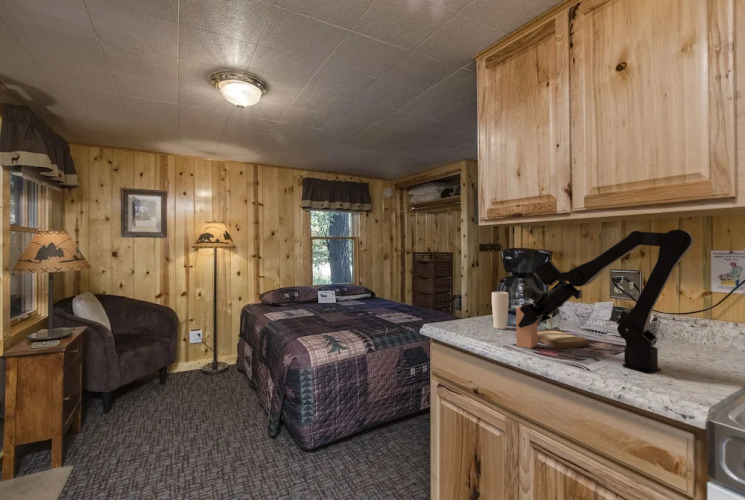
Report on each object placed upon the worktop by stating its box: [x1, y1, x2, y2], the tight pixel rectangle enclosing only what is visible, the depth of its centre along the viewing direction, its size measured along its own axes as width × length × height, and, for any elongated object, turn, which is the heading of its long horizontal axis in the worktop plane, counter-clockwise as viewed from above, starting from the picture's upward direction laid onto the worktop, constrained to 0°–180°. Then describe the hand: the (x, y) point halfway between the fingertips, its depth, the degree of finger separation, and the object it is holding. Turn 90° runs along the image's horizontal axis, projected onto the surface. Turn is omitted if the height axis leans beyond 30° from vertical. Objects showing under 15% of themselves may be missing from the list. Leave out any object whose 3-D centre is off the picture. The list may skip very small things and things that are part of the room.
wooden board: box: [537, 329, 590, 349], centre depth 125 cm, size 16×13×2 cm
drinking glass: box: [491, 291, 510, 330], centre depth 146 cm, size 7×7×15 cm
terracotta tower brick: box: [515, 305, 539, 349], centre depth 119 cm, size 5×5×13 cm
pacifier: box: [539, 315, 561, 331], centre depth 144 cm, size 7×6×6 cm
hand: (522, 325), depth 120 cm, fingers closed on terracotta tower brick, 5 cm apart
